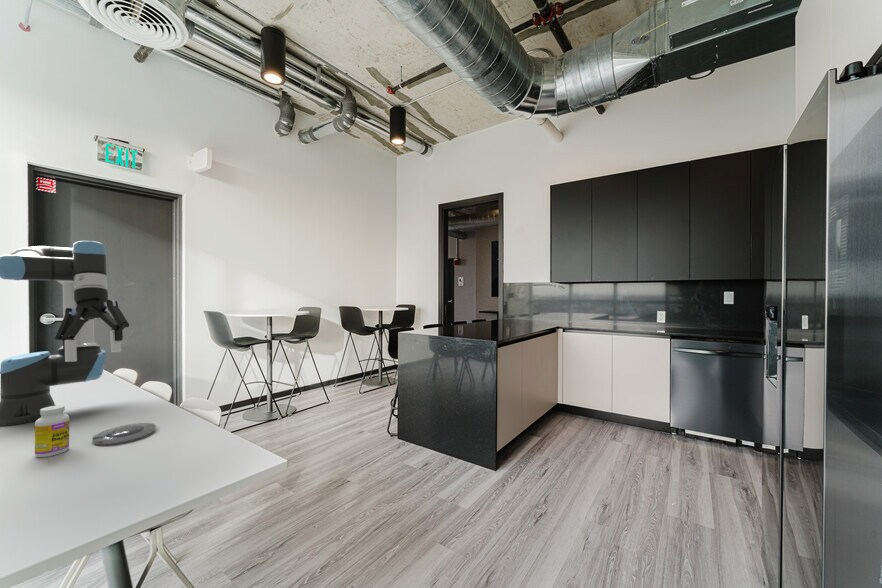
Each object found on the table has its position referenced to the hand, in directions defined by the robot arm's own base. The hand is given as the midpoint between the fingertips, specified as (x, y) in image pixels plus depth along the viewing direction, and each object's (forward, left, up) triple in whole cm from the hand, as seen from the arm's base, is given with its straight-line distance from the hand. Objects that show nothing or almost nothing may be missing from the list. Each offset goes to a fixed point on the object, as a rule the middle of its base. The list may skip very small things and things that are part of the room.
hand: (93, 356), depth 107 cm
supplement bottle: (-5, -7, -26) cm, 28 cm away
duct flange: (+5, +5, -26) cm, 27 cm away
